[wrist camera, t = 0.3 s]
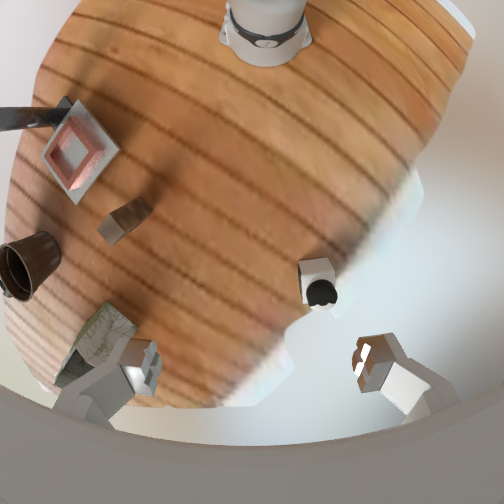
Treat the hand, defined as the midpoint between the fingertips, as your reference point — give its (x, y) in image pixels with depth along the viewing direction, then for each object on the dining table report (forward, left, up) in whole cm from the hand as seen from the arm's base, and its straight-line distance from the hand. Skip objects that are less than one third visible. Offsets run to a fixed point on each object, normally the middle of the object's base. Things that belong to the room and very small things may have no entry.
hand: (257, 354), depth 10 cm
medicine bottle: (+21, +13, -48) cm, 54 cm away
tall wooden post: (+6, -27, -48) cm, 55 cm away
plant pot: (+17, -61, -48) cm, 79 cm away
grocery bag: (+47, -49, -48) cm, 83 cm away
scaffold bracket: (-13, -42, -48) cm, 65 cm away
